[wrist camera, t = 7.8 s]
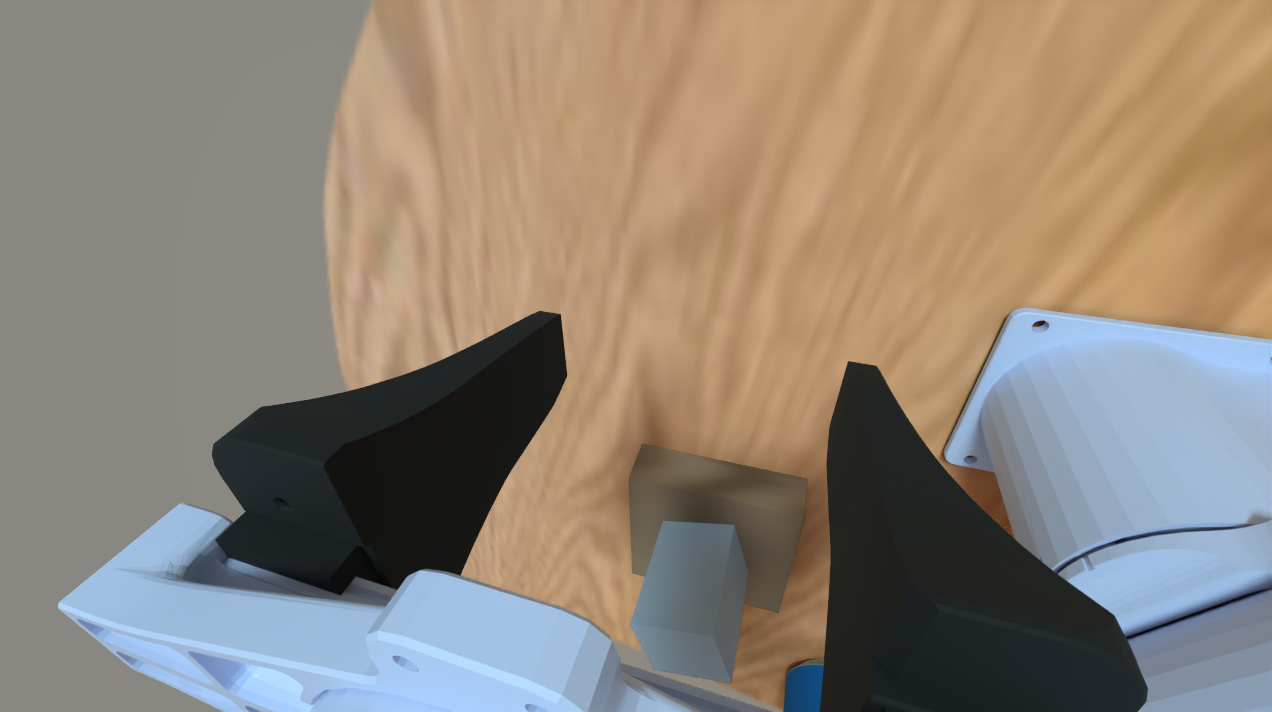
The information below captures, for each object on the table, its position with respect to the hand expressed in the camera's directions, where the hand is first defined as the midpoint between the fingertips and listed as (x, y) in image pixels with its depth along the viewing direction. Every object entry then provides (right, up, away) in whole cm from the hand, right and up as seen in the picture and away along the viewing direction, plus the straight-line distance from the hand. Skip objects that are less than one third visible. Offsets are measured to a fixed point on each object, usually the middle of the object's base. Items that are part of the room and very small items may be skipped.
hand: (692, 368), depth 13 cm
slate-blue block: (+2, -10, +16) cm, 19 cm away
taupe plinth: (+3, -9, +19) cm, 21 cm away
